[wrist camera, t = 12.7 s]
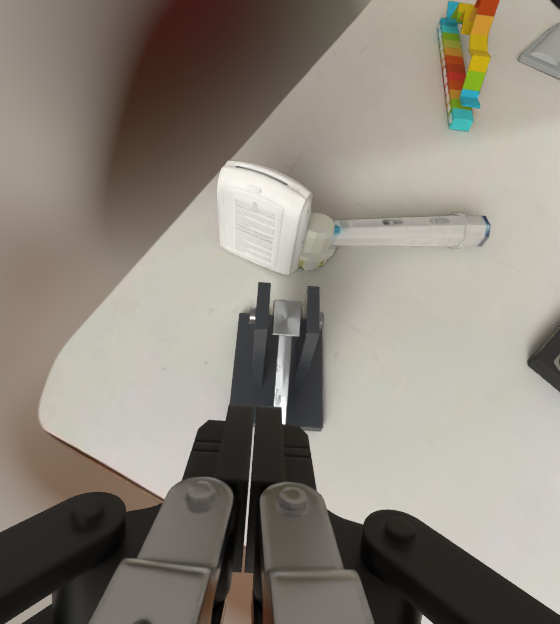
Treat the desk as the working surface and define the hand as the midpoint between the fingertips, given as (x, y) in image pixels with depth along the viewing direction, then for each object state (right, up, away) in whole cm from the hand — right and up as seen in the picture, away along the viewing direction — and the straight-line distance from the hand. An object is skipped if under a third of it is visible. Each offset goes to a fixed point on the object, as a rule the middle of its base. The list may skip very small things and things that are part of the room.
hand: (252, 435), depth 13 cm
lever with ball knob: (+1, -2, +25) cm, 25 cm away
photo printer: (-2, +11, +41) cm, 43 cm away
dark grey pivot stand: (+1, -3, +33) cm, 33 cm away
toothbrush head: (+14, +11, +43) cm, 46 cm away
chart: (+30, +44, +64) cm, 84 cm away
